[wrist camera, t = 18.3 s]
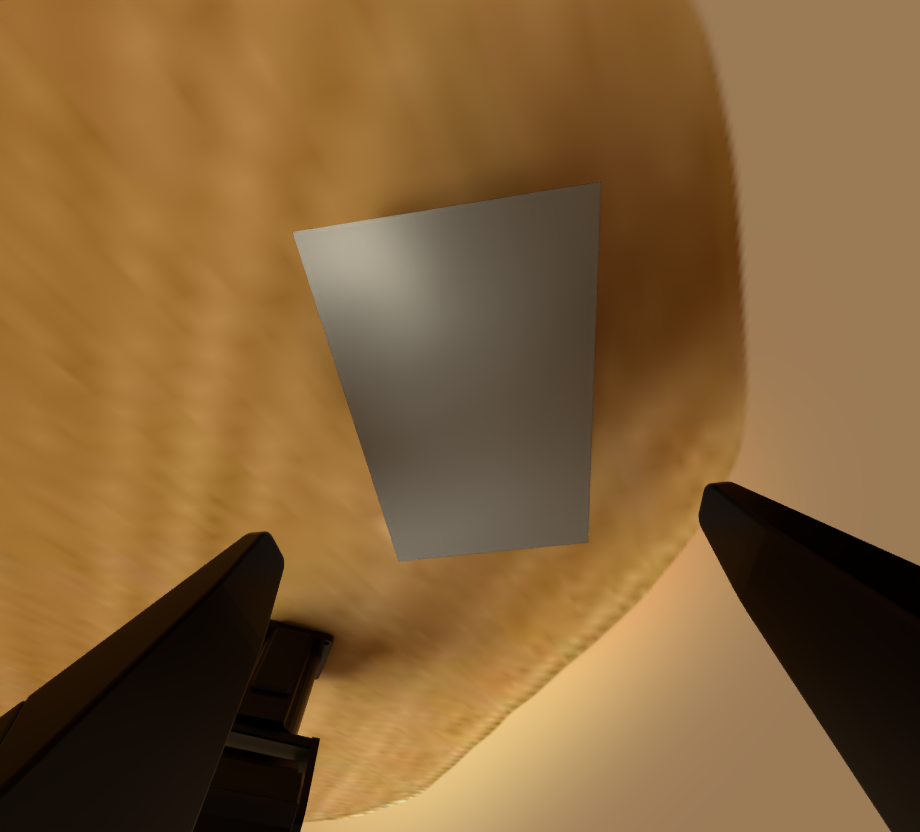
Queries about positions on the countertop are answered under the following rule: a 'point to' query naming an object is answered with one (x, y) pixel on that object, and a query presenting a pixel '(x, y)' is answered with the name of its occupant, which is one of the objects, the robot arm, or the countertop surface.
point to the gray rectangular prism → (469, 365)
